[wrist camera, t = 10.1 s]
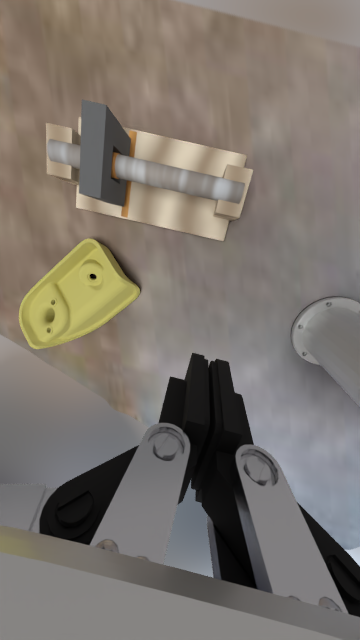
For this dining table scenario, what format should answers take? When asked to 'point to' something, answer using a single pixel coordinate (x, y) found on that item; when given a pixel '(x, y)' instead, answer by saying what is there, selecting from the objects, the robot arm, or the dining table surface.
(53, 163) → the pipe stand
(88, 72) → the dining table surface
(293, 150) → the dining table surface
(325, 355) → the robot arm
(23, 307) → the plastic component
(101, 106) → the collar
